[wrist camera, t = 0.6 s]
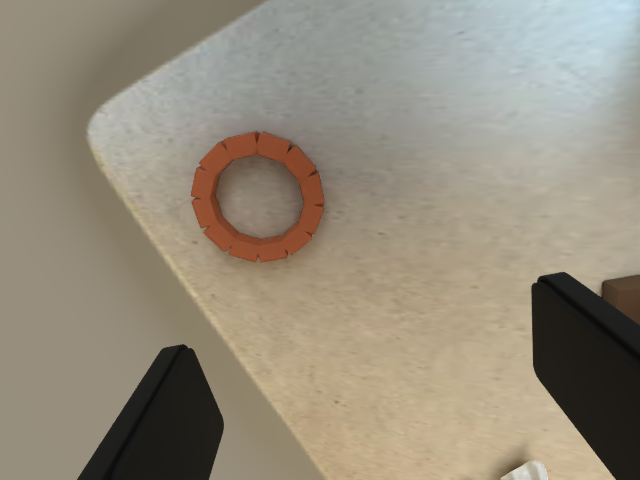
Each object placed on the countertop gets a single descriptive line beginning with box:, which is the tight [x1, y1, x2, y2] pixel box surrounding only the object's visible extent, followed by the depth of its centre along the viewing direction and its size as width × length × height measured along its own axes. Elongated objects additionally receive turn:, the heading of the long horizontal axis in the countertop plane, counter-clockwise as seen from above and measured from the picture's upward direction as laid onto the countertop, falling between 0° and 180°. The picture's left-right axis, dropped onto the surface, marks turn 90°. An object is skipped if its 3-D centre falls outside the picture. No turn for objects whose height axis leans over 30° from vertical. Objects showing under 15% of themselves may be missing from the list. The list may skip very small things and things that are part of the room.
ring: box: [191, 131, 324, 262], centre depth 25 cm, size 9×9×1 cm
